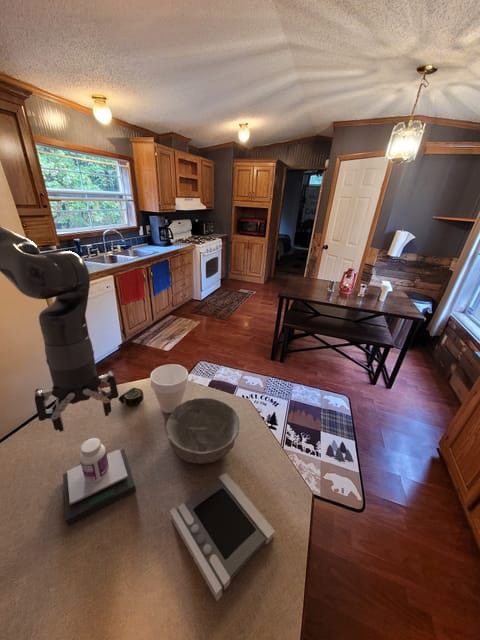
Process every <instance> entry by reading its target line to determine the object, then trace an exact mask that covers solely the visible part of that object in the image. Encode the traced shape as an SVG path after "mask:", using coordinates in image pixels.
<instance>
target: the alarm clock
mask: <svg viewBox="0 0 480 640" xmlns="http://www.w3.org/2000/svg"><path fill="white" fill-rule="evenodd" d="M169 514H170V519H171V522H172V524H173V525H174V527H175V529H176V531H177V533H178V534H179V537H180V538H181V539H182V542H183V543H184V545H185V547H186V549H187V548H188V549H187V551H188V552H189V554H190V556H191V558H192V557H193V558H192V559H193V561H194V564H195V565H196V567H197V566H198V567H197V568H198V571H199V572H200V574H201V576H202V577H203V580H204V581H205V583H206V585H207V586H208V589H209V590H210V592H211V594H212V596H213V598H214V599H215V601H216V602H218V601H219V600H220V599H221V597H222V596H223V591H225V590H226V589H227V588H228V587H229V585H230V584H231V582H232V580H234V578H235V576H237V574H238V573H239V572H240V571H241V569H243V568H244V566H246V564H247V563H248V562H249V560H250V559H251V558H252V557H253V556H254V555H255V554H256V553H257V552H258V551H259V550H260V549H261V548H262V547H263V546H264V545H267V544H269V542H270V541H271V540H272V539H273V538H274V536H275V534H276V530H275V529H274V528H273V526H272V525H271V523H269V521H268V520H267V518H266V517H265V515H264V514H263V513H262V512H261V510H260V509H259V508H258V507H257V505H256V504H255V503H254V502H253V501H252V500H251V498H250V497H249V496H248V495H247V494H246V493H245V491H243V489H242V488H241V487H240V485H238V483H237V482H236V481H234V480H233V479H232V478H231V477H230V475H229V473H227V472H225V473H223V474H221V475H220V476H218V479H217V480H215V481H213V482H211V483H210V484H208V485H206V486H205V487H203V488H202V489H201V490H200V491H198V492H196V493H195V494H194V495H193V496H191V497H190V498H189V499H187V500H186V501H184V502H182V503H180V505H178V506H177V507H173V508H172V509H170V510H169Z"/></svg>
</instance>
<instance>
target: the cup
mask: <svg viewBox="0 0 480 640" xmlns="http://www.w3.org/2000/svg"><path fill="white" fill-rule="evenodd" d="M149 378H150V387H151V388H152V389H153V393H154V394H155V397H156V399H157V402H158V404H159V408H160V410H161V411H162V412H163V413H167V414H171V413H172V411H174V409H175V408H176V407H178V406H179V405H181V404H182V403H183V399H184V394H185V391H186V388H187V386H188V384H189V371H188V369H187V368H186V367H184V366H182V365H180V364H175V363H170V364H169V363H168V364H163V365H160V366H158V367H155V368H154V370H152V371H151V373H150V377H149Z"/></svg>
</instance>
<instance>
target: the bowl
mask: <svg viewBox="0 0 480 640" xmlns="http://www.w3.org/2000/svg"><path fill="white" fill-rule="evenodd" d="M239 431H240V419H239V415H238V414H237V412H236V410H235V409H234V408H233V407H232V406H231V405H229V404H227V403H226V402H224V401H222V400H218V399H215V398H212V397H198V398H193V399H188V400H185V401H183V402H182V403H181V405H179V406H178V407H176V408H175V409H174V411H172V413H170V415H169V416H168V419H167V420H166V423H165V432H166V435H167V437H168V440H169V444H170V447H171V448H172V450H173V452H174V454H176V455H177V456H178V458H180V459H181V460H183V461H185V462H187V463H192V464H211V463H214V462H216V461H219V460H221V459H222V458H224V457H225V456H226V455H227V454H228V453H229V452H230V451H231V450H232V449H233V447H234V445H235V441H236V439H237V437H238V435H239Z"/></svg>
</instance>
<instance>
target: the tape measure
mask: <svg viewBox="0 0 480 640" xmlns="http://www.w3.org/2000/svg"><path fill="white" fill-rule="evenodd" d="M117 399H118V401H119V403H121V404H124V405H125V406H127V407H135V406H138V405H140V404H141V403H142V402H143V401H144V399H145V398H144V391H143V390H142V389H141V388H137V387H132V388H130V389H129V390H127V391H126V392H124V393H122V394H121V395H120V396H118V397H117Z"/></svg>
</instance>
